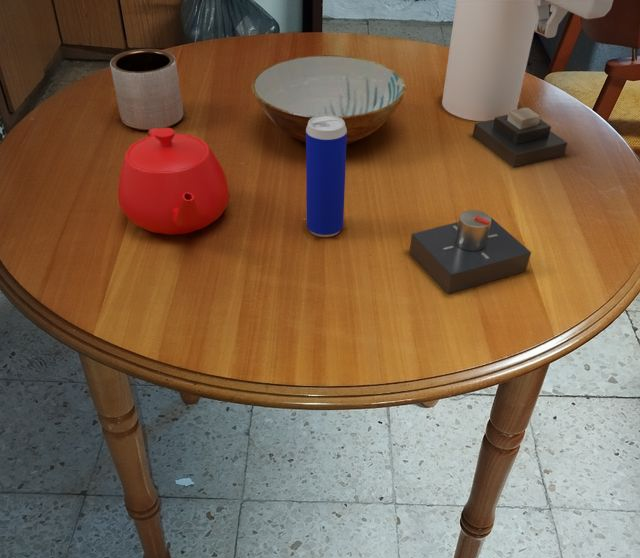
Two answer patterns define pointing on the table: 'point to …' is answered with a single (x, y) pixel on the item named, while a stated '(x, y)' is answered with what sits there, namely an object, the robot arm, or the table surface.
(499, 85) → the canister
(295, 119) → the bowl
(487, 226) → the volume dial
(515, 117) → the cream push button
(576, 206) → the table surface
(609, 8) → the robot arm
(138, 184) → the teapot
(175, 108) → the planter
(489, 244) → the volume panel
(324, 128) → the beverage can
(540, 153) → the push button box
